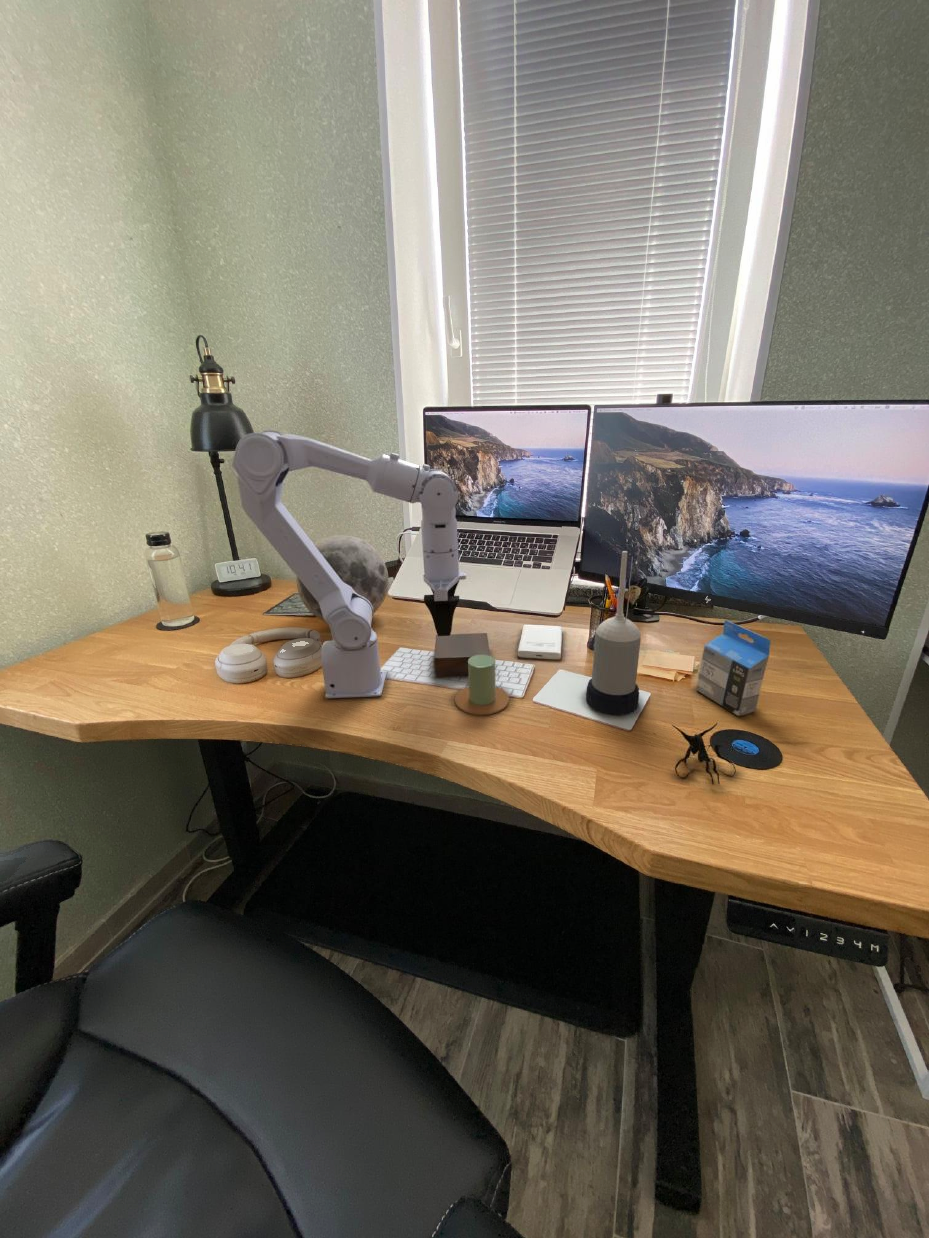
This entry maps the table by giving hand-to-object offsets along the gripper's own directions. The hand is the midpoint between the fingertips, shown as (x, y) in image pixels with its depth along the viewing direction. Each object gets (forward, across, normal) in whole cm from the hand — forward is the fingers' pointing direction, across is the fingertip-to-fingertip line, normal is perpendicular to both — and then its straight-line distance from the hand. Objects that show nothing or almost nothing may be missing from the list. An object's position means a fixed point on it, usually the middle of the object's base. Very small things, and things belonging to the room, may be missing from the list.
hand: (444, 625), depth 87 cm
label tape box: (+11, -10, -45) cm, 47 cm away
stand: (+10, +5, -3) cm, 12 cm away
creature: (+11, -26, -34) cm, 44 cm away
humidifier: (+11, -9, -27) cm, 30 cm away
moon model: (+10, +28, +24) cm, 38 cm away
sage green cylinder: (+10, -8, -6) cm, 14 cm away
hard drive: (+11, +13, -19) cm, 25 cm away
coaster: (+10, -8, -6) cm, 14 cm away
